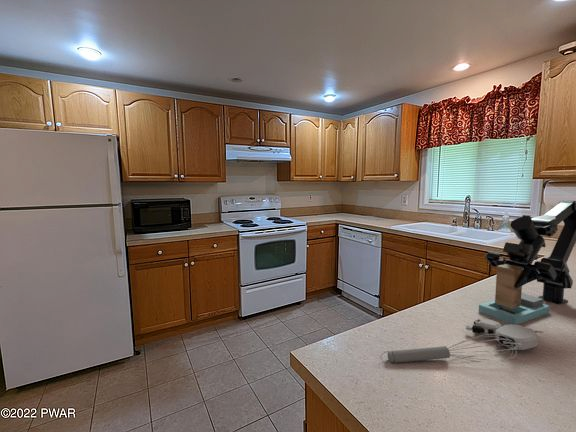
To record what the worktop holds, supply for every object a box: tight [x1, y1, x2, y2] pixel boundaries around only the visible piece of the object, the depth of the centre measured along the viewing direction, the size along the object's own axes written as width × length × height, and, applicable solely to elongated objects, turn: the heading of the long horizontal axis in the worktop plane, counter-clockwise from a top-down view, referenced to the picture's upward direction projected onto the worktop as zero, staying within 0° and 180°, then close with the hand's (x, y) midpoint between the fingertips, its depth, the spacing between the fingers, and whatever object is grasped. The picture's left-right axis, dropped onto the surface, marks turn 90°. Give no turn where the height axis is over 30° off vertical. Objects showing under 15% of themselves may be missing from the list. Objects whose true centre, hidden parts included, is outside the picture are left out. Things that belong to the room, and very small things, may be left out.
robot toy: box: [465, 318, 544, 351], centre depth 79 cm, size 12×4×15 cm
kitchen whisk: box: [380, 334, 518, 364], centre depth 70 cm, size 6×34×6 cm, turn 91°
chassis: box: [478, 292, 551, 325], centre depth 96 cm, size 20×11×4 cm, turn 114°
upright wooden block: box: [494, 264, 523, 309], centre depth 93 cm, size 5×5×13 cm
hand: (506, 285), depth 93 cm, fingers closed on upright wooden block, 5 cm apart
